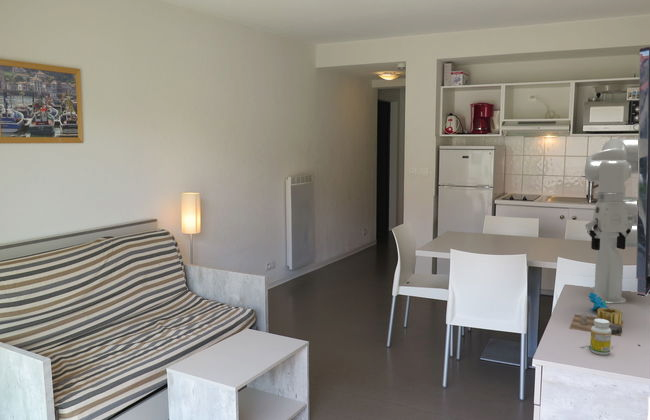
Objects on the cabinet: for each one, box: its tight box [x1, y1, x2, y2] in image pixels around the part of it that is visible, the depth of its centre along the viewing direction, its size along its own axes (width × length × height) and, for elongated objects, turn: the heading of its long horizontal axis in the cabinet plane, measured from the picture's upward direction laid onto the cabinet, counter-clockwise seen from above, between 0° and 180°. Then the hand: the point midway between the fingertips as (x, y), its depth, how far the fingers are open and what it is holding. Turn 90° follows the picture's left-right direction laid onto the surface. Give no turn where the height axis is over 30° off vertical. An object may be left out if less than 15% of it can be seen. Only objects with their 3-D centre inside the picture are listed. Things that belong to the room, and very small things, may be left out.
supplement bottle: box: [589, 319, 612, 356], centre depth 158 cm, size 5×5×10 cm
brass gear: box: [596, 307, 623, 326], centre depth 181 cm, size 7×7×4 cm
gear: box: [588, 292, 610, 311], centre depth 194 cm, size 11×6×10 cm
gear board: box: [568, 313, 624, 337], centre depth 179 cm, size 17×15×5 cm
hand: (608, 249), depth 178 cm, fingers open, 9 cm apart
